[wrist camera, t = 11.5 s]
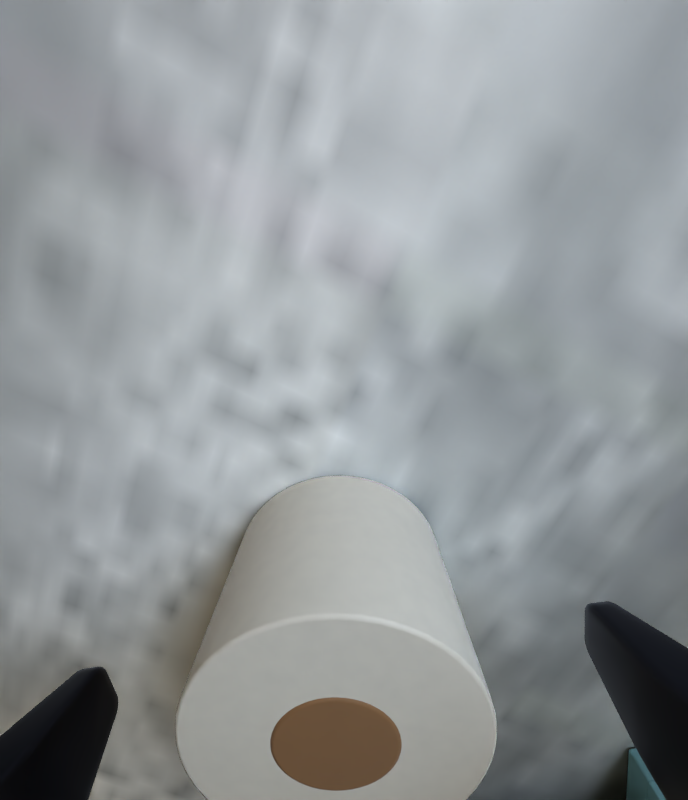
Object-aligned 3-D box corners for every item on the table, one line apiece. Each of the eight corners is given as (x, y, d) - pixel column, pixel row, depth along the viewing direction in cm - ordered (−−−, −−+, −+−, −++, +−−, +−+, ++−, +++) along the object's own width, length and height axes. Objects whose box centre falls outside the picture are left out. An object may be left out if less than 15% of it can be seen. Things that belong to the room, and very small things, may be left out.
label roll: (202, 529, 9) (103, 701, 6) (380, 438, 9) (407, 561, 5) (306, 664, 11) (283, 883, 7) (469, 592, 10) (548, 790, 6)
